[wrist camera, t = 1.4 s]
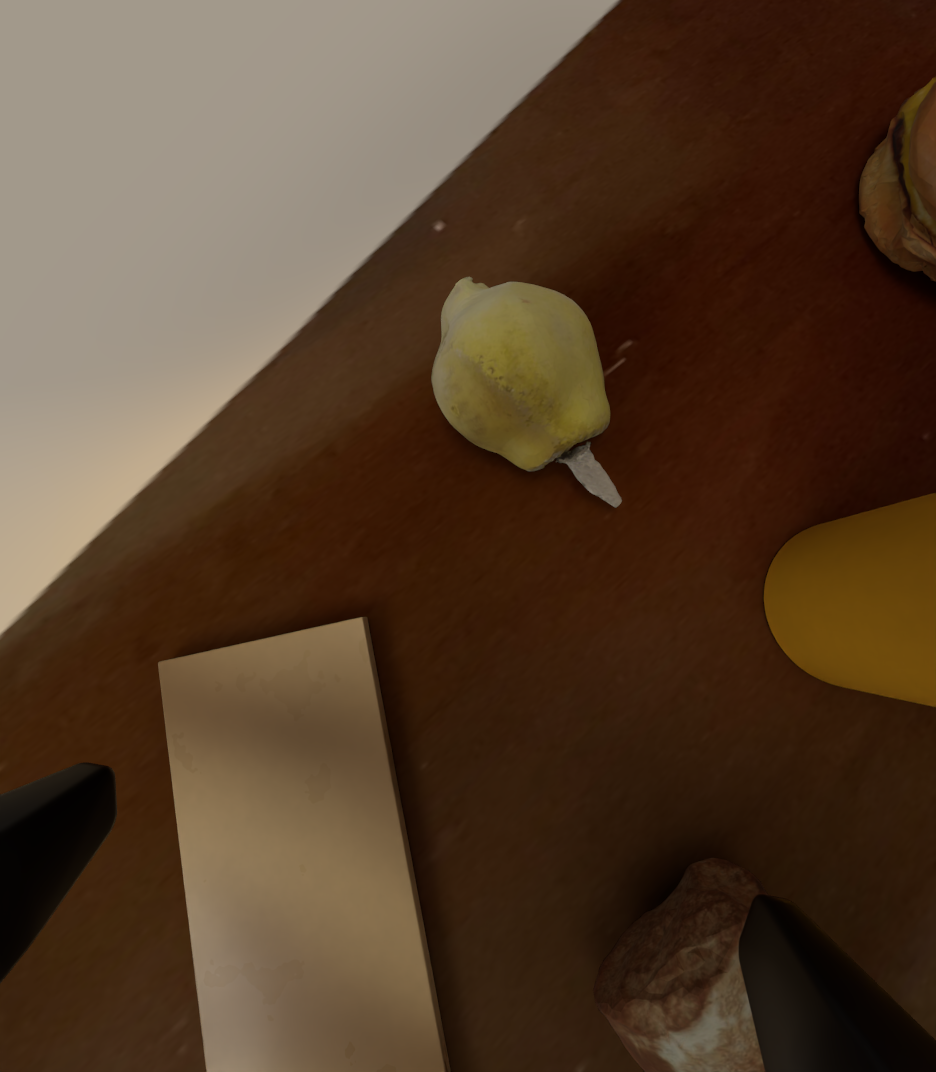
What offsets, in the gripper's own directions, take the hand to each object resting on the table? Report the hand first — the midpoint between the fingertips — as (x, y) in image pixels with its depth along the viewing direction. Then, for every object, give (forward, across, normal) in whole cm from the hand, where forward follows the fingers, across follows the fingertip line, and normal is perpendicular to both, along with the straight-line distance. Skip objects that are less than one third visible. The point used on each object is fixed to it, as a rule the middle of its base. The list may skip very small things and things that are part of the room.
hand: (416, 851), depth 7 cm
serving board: (+7, +3, +17) cm, 19 cm away
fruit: (+17, -1, -6) cm, 18 cm away
